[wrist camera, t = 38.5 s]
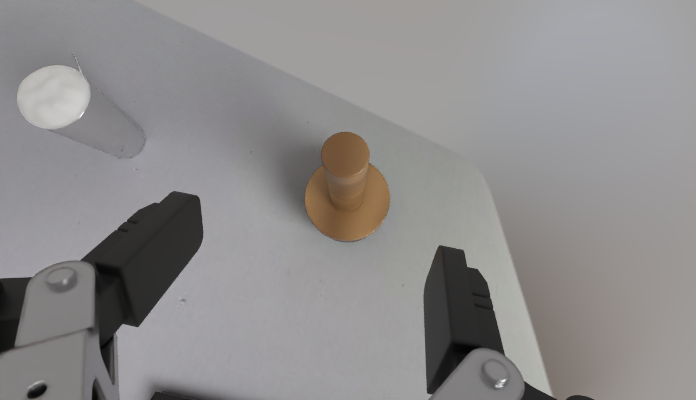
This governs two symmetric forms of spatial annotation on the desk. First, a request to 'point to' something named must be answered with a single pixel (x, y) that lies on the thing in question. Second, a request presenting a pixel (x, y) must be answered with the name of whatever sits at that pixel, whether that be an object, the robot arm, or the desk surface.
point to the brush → (346, 190)
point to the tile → (179, 395)
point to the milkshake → (77, 111)
